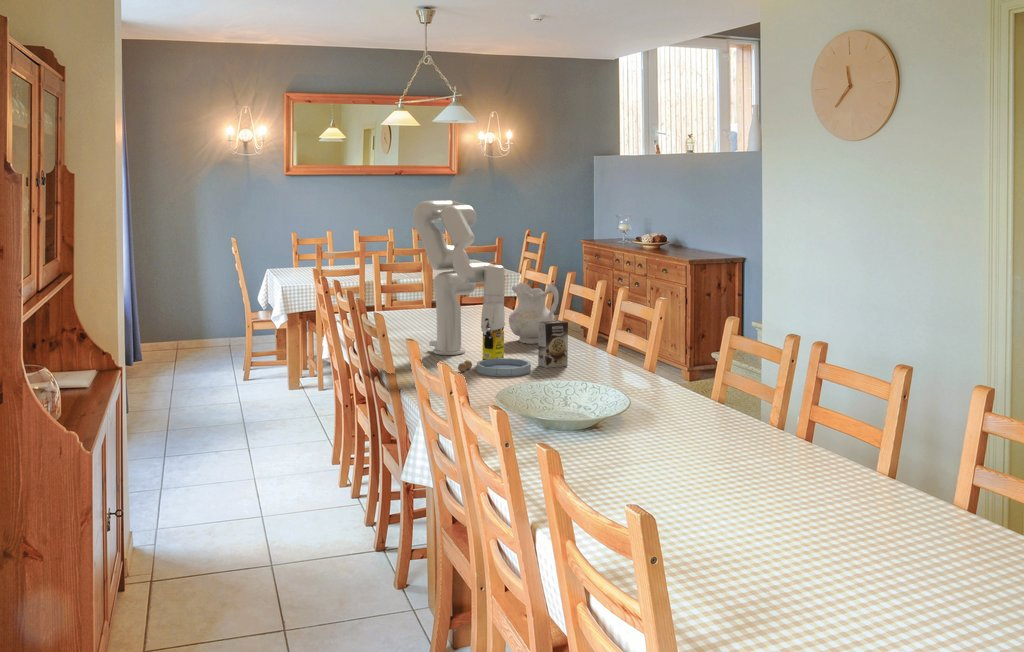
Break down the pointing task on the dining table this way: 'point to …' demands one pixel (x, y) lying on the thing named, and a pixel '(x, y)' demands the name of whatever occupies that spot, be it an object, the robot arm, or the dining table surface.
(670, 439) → the dining table surface
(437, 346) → the robot arm
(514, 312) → the ceramic pitcher
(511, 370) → the tray
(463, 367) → the bead
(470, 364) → the bead
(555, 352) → the coffee box
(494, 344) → the supplement box
